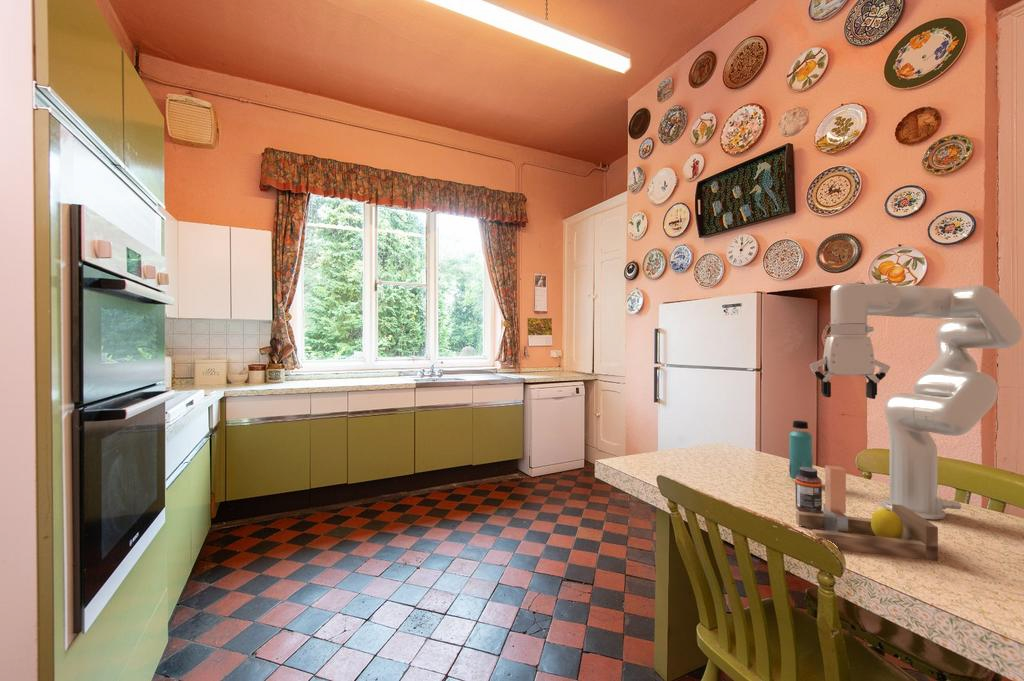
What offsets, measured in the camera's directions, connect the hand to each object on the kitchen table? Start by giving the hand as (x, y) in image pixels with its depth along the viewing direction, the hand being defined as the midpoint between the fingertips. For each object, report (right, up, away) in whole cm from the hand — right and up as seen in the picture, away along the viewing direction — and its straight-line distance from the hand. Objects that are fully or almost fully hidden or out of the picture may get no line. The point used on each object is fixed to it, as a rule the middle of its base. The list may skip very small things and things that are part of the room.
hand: (848, 397), depth 113 cm
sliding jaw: (-12, -31, -11) cm, 35 cm away
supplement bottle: (-7, -32, +5) cm, 33 cm away
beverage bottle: (+6, -32, +28) cm, 43 cm away
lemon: (-2, -32, -14) cm, 35 cm away
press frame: (-7, -31, -13) cm, 34 cm away
